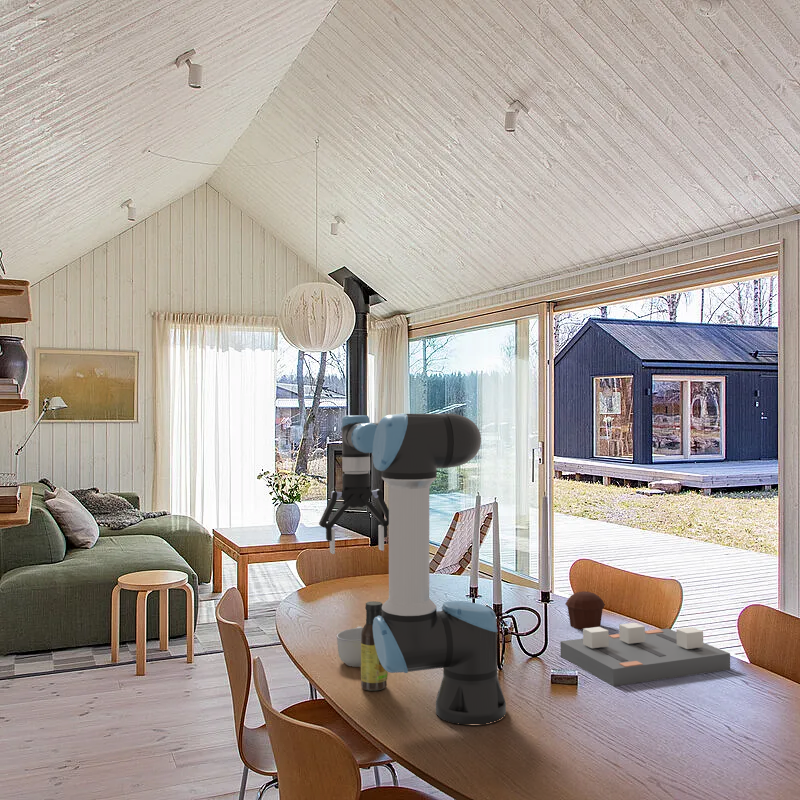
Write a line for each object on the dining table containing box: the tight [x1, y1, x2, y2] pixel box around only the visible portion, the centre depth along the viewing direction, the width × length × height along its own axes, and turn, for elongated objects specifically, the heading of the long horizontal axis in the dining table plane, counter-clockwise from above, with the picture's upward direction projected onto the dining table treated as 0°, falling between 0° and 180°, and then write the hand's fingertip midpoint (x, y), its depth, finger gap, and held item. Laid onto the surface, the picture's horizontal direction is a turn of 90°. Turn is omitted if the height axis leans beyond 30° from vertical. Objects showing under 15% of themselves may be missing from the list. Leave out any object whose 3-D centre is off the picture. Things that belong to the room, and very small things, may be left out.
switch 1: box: [582, 626, 610, 648], centre depth 203 cm, size 4×5×4 cm
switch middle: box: [618, 622, 646, 644], centre depth 206 cm, size 4×5×4 cm
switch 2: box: [675, 626, 704, 649], centre depth 202 cm, size 4×5×4 cm
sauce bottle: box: [360, 600, 388, 692], centre depth 186 cm, size 6×6×20 cm
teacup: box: [336, 626, 363, 668], centre depth 206 cm, size 14×11×8 cm
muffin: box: [565, 591, 606, 631], centre depth 237 cm, size 12×11×10 cm
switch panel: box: [559, 628, 731, 687], centre depth 202 cm, size 24×34×4 cm
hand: (357, 551), depth 212 cm, fingers open, 13 cm apart
